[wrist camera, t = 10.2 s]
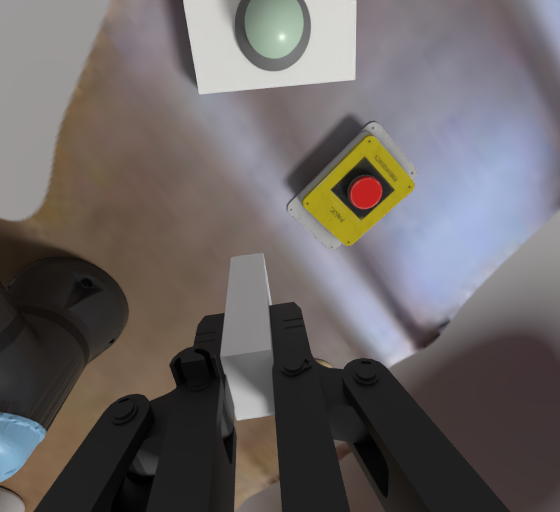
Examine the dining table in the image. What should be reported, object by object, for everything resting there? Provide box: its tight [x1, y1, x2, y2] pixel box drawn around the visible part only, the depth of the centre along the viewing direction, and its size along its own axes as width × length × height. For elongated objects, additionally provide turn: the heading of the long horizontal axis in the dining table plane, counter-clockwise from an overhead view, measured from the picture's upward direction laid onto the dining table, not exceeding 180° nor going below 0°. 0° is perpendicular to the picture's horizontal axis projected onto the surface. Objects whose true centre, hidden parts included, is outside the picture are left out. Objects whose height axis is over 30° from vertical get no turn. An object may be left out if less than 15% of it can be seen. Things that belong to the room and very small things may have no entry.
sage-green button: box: [245, 0, 304, 60], centre depth 31 cm, size 5×5×2 cm
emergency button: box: [287, 122, 417, 250], centre depth 42 cm, size 9×4×15 cm
